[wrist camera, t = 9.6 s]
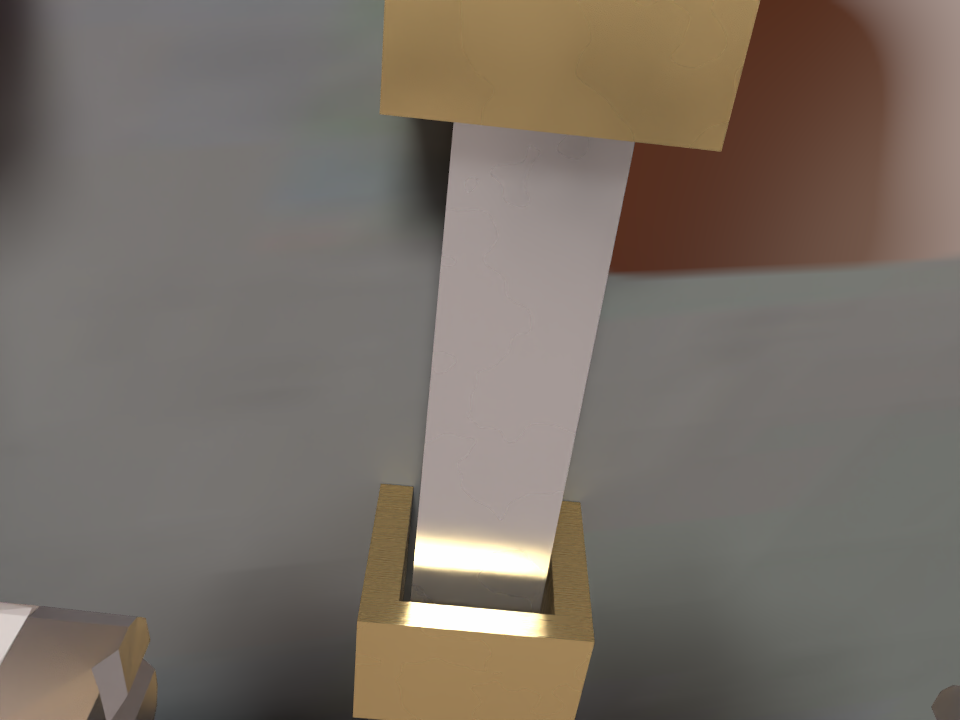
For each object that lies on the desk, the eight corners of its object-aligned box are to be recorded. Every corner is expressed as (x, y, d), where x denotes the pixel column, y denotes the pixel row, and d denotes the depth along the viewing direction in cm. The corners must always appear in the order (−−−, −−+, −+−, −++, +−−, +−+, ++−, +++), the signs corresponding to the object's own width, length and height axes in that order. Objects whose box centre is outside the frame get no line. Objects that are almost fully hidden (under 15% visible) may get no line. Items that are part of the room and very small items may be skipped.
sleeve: (580, 502, 28) (594, 642, 24) (560, 592, 31) (570, 735, 26) (381, 483, 28) (357, 621, 24) (375, 575, 30) (353, 717, 26)
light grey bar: (658, -127, 19) (688, -105, 16) (532, 544, 29) (536, 637, 26) (478, -148, 19) (472, -131, 16) (417, 533, 29) (406, 625, 26)
